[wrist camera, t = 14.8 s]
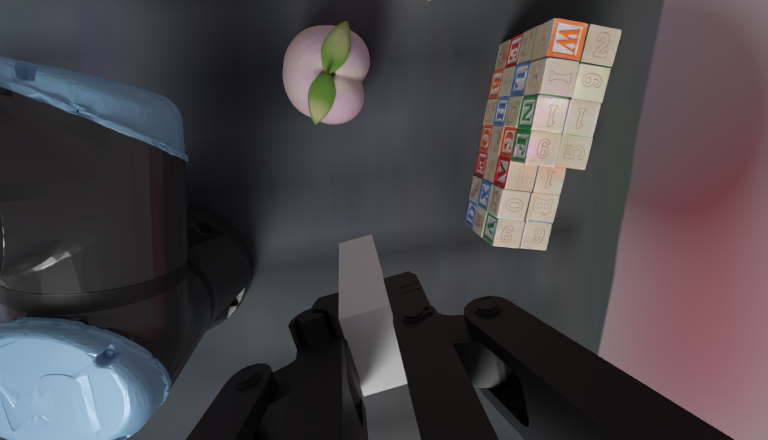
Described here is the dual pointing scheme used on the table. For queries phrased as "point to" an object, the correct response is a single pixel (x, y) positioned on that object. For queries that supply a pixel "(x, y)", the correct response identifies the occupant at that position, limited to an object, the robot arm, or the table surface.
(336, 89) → the decorative fruit
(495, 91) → the stack of blocks
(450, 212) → the table surface
